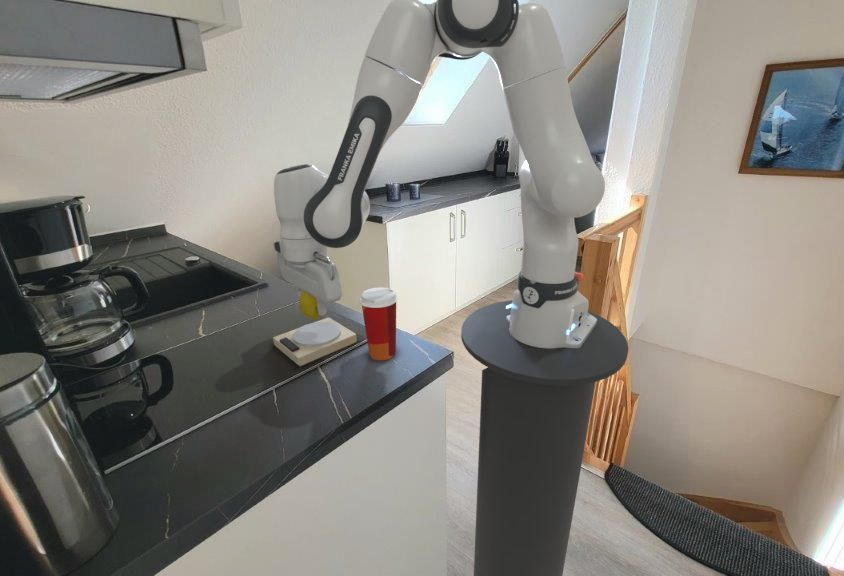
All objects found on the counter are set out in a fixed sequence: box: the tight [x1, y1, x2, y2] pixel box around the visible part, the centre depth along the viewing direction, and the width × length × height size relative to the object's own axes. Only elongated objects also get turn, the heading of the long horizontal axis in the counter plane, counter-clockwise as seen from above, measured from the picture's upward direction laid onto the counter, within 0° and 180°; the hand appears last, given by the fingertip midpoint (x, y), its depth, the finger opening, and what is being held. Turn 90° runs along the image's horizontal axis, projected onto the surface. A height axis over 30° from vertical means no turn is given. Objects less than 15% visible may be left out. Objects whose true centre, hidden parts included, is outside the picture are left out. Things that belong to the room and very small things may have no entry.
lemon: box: [298, 291, 323, 321], centre depth 87 cm, size 6×6×8 cm
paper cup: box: [359, 286, 399, 361], centre depth 84 cm, size 8×8×14 cm
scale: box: [272, 316, 358, 367], centre depth 90 cm, size 14×12×3 cm
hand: (313, 308), depth 88 cm, fingers closed on lemon, 5 cm apart
